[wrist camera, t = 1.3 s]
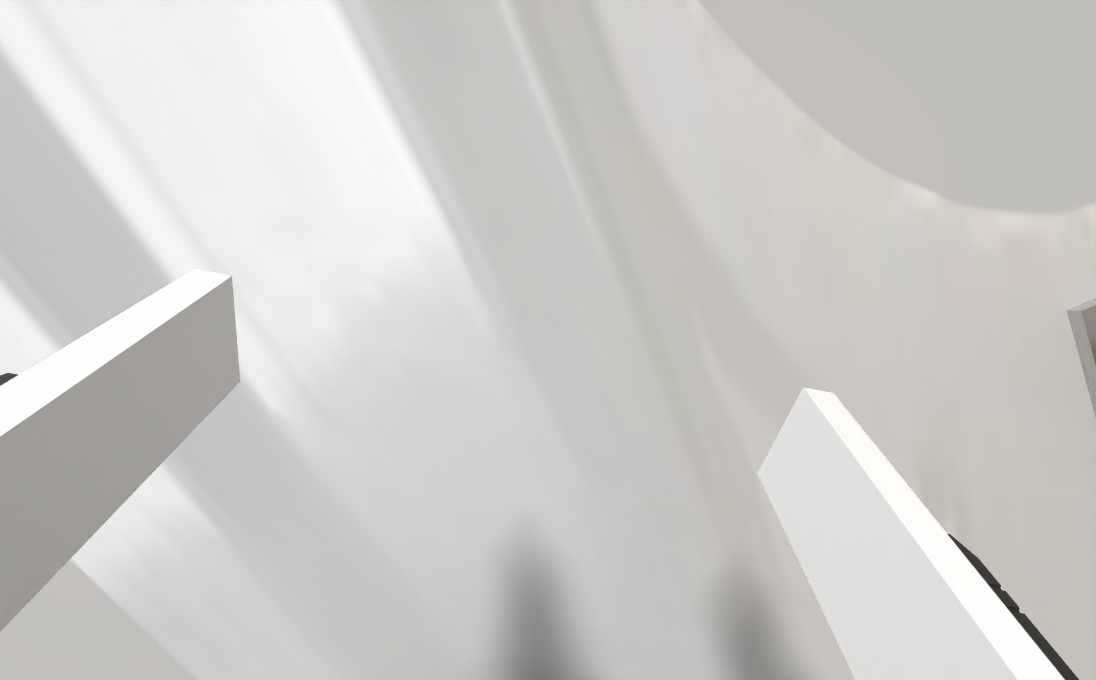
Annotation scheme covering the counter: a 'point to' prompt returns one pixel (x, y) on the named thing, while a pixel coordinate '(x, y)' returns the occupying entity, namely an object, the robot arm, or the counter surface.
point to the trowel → (1086, 342)
